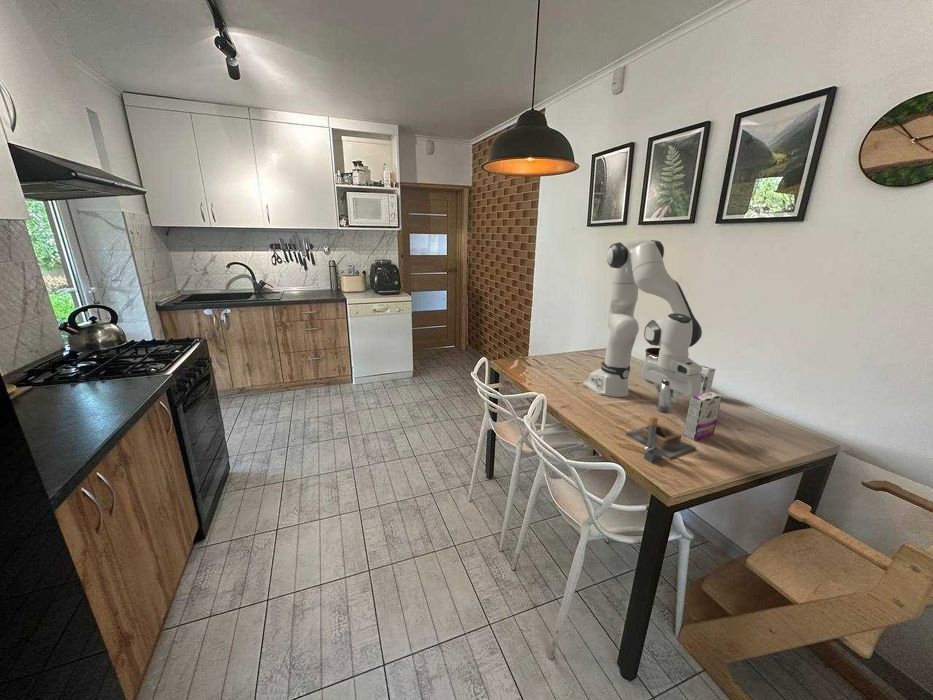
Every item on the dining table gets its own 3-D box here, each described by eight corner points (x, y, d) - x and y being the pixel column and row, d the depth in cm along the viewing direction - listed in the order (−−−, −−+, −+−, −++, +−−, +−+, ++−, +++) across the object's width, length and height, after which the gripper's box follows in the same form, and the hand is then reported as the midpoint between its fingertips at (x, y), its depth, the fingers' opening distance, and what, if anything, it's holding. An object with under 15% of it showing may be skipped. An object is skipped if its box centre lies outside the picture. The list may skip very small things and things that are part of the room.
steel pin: (654, 409, 131) (659, 378, 128) (662, 407, 133) (667, 376, 130) (665, 414, 127) (670, 382, 124) (673, 412, 129) (679, 380, 126)
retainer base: (641, 457, 124) (643, 447, 123) (651, 453, 126) (653, 443, 125) (651, 463, 121) (653, 453, 120) (661, 459, 123) (663, 449, 122)
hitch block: (625, 434, 139) (627, 424, 137) (650, 426, 145) (652, 417, 143) (669, 459, 123) (671, 448, 122) (695, 449, 129) (697, 439, 128)
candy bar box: (701, 429, 143) (710, 390, 139) (713, 435, 139) (723, 395, 134) (681, 434, 139) (690, 395, 134) (694, 441, 135) (703, 400, 130)
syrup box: (690, 394, 176) (696, 366, 172) (697, 392, 179) (703, 364, 174) (702, 398, 171) (708, 369, 167) (709, 396, 174) (716, 367, 170)
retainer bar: (646, 445, 123) (649, 418, 121) (651, 443, 124) (654, 416, 122) (649, 447, 122) (652, 419, 120) (654, 445, 123) (657, 418, 121)
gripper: (640, 354, 132) (635, 389, 136) (695, 372, 115) (687, 411, 119) (652, 352, 135) (647, 386, 139) (707, 369, 117) (699, 408, 121)
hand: (666, 398), depth 129 cm, fingers closed on steel pin, 4 cm apart
